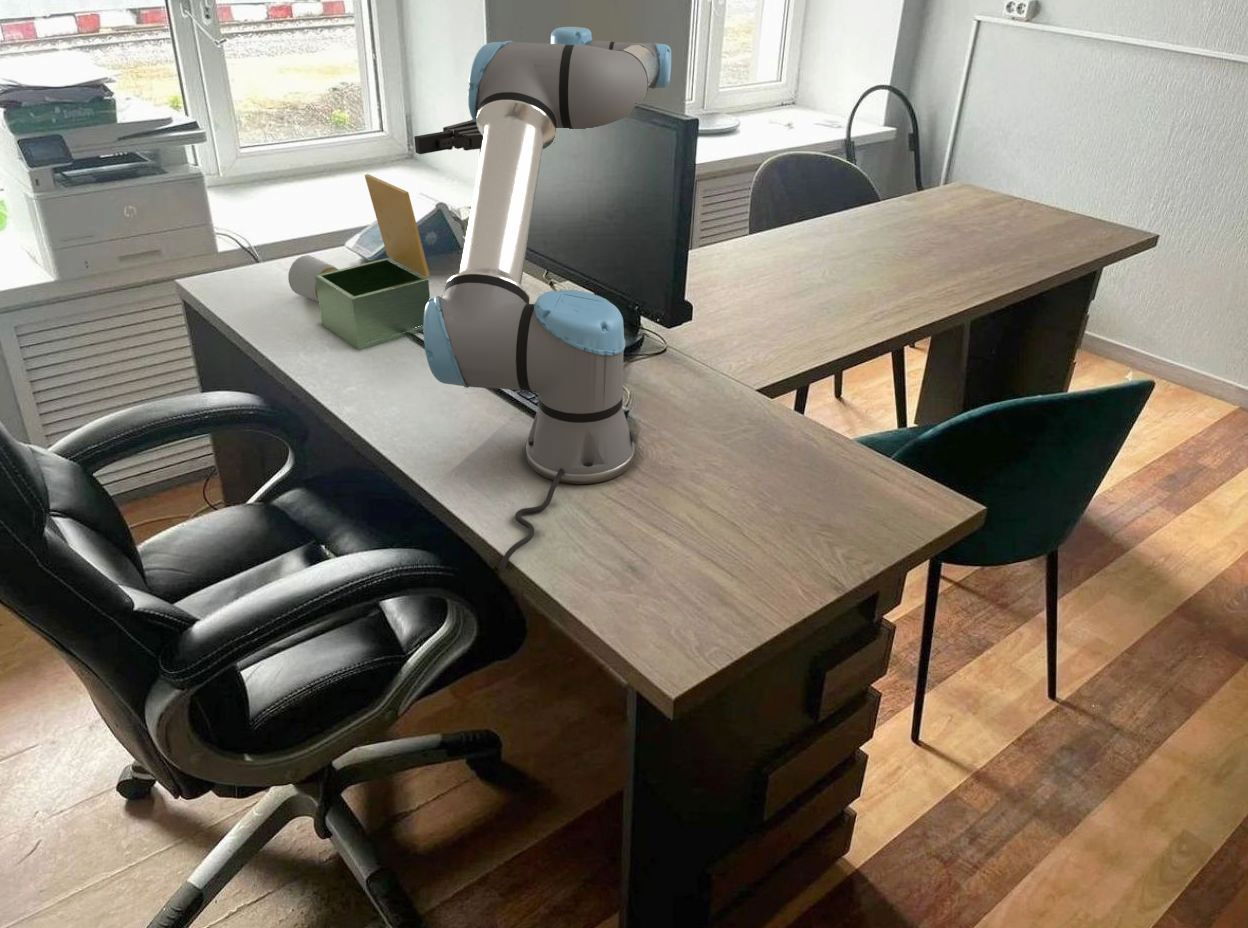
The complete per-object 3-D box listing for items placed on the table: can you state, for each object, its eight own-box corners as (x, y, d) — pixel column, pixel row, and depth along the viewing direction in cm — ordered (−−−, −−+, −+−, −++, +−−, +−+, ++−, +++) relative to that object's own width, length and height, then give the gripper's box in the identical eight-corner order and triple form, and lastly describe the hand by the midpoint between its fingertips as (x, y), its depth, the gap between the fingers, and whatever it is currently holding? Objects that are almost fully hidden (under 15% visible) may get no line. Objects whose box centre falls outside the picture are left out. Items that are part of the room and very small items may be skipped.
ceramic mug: (319, 310, 185) (314, 270, 181) (290, 299, 189) (284, 260, 185) (363, 294, 192) (359, 255, 188) (334, 284, 196) (329, 246, 192)
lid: (404, 193, 164) (408, 191, 165) (364, 175, 173) (367, 173, 173) (426, 277, 174) (429, 276, 174) (387, 256, 182) (390, 254, 183)
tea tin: (358, 349, 171) (352, 298, 166) (321, 324, 179) (314, 275, 174) (432, 328, 179) (428, 279, 174) (394, 305, 188) (388, 257, 183)
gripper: (551, 153, 181) (439, 176, 167) (509, 139, 189) (399, 159, 176) (550, 110, 177) (436, 130, 164) (507, 97, 185) (395, 115, 172)
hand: (417, 145), depth 170 cm, fingers closed
